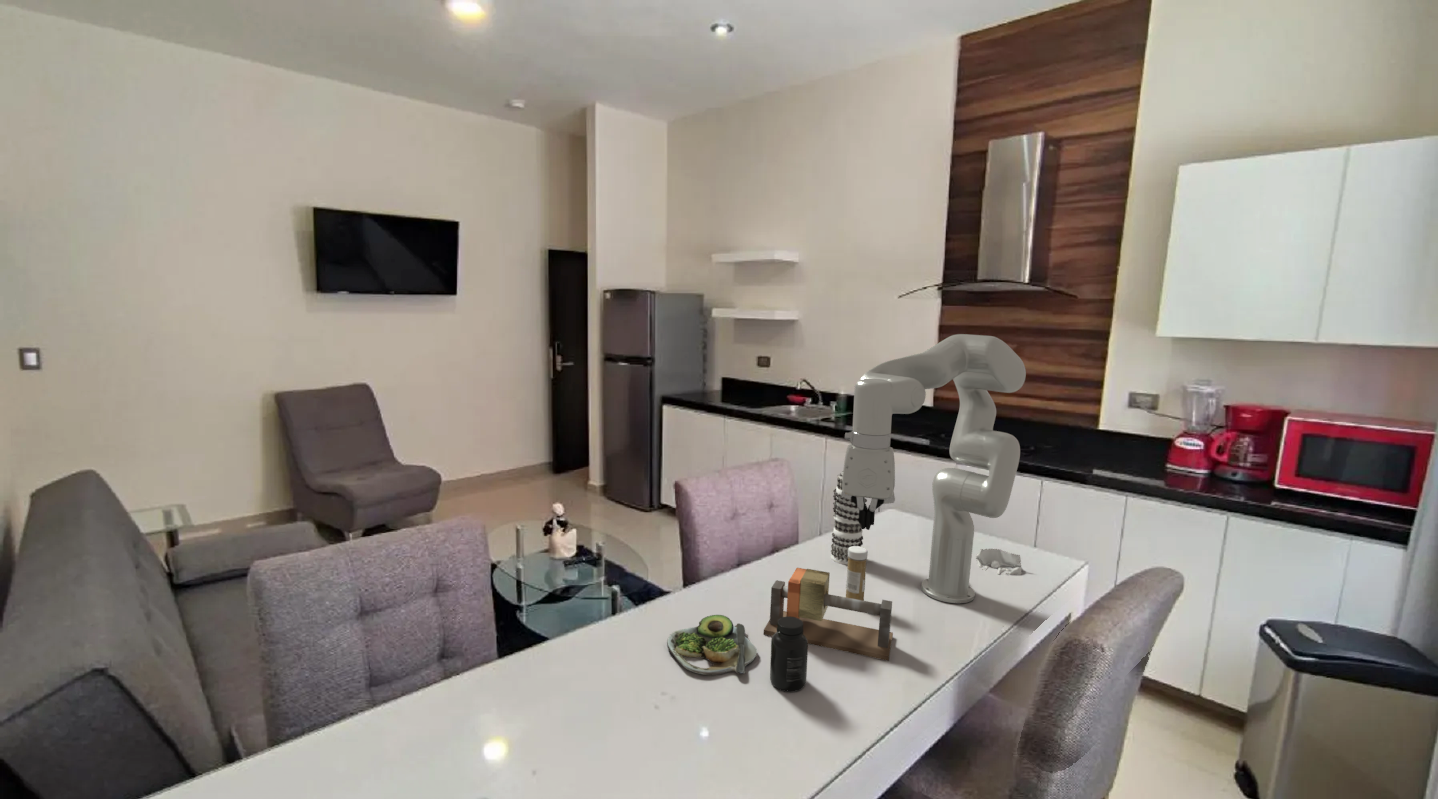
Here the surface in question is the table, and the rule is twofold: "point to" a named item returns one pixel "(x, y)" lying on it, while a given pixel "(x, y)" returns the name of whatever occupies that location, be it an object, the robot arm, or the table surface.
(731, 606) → the table surface
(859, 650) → the machine model on base
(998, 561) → the grey relief sculpture
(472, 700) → the table surface
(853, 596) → the sprinkles bottle
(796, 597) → the orange rectangular slab
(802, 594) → the sleeve
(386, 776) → the table surface
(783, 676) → the supplement bottle
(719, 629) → the avocado toast plate
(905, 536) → the table surface
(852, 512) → the decorative candle
